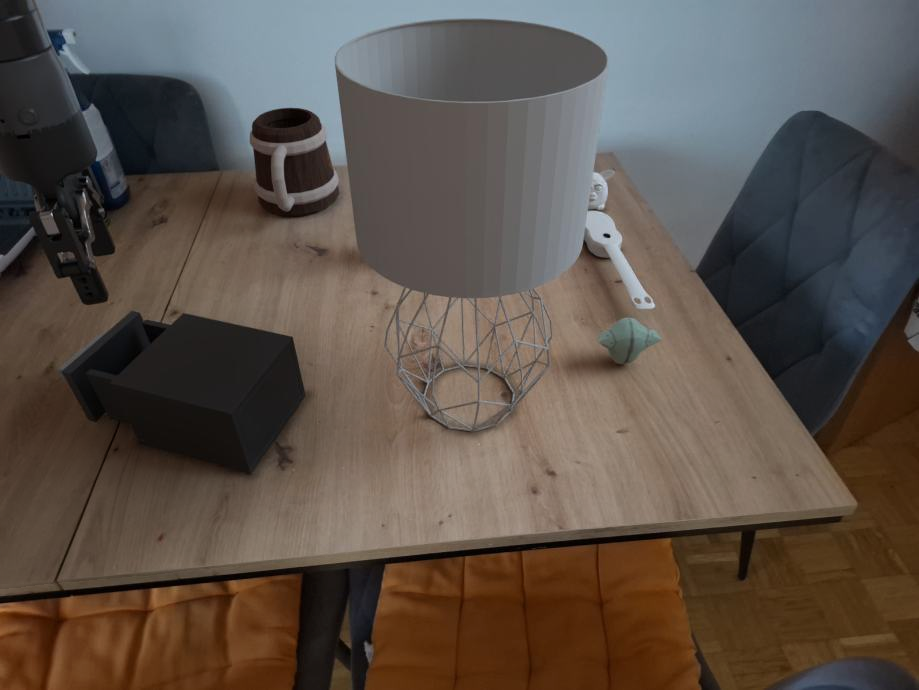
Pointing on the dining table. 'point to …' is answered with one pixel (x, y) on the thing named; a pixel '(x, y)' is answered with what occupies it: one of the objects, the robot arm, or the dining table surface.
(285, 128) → the mug
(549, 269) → the table lamp
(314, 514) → the dining table surface
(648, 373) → the dining table surface
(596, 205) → the figurine
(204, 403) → the cabinet
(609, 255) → the white toy ukulele
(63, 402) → the dining table surface
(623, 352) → the green spinning top
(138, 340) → the drawer
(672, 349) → the dining table surface
